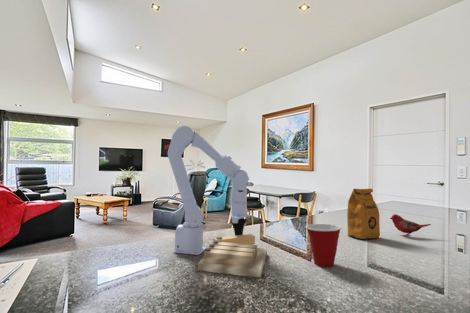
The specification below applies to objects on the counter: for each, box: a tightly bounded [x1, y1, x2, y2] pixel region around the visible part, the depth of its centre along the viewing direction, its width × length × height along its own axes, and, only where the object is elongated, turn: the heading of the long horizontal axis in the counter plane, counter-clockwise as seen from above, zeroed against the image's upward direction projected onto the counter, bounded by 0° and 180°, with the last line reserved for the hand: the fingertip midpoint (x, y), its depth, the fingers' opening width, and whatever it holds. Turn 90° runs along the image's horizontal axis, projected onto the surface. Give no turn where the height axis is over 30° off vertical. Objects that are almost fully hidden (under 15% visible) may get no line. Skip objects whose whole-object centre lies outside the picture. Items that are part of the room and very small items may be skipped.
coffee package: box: [346, 187, 381, 240], centre depth 112 cm, size 10×12×22 cm
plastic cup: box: [305, 223, 342, 268], centre depth 78 cm, size 11×11×12 cm
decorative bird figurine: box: [389, 213, 432, 237], centre depth 114 cm, size 3×18×10 cm, turn 82°
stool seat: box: [197, 241, 268, 278], centre depth 78 cm, size 18×19×5 cm
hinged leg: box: [212, 233, 256, 245], centre depth 88 cm, size 15×3×3 cm, turn 117°
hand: (238, 239), depth 91 cm, fingers closed, pressing on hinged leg
